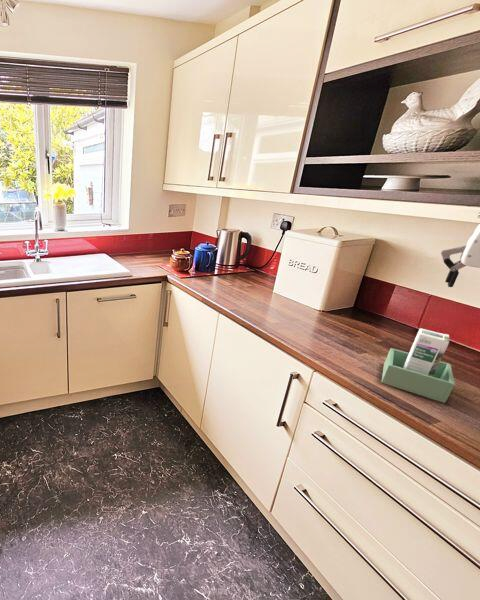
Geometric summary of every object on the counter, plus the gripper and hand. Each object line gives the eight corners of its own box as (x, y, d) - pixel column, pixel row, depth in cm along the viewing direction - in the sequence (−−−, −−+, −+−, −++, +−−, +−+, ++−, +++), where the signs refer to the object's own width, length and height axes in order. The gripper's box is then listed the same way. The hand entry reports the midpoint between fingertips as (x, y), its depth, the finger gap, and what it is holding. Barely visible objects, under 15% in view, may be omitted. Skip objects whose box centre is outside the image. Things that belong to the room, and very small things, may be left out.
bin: (441, 381, 94) (450, 364, 92) (445, 403, 86) (454, 384, 84) (383, 364, 102) (390, 347, 100) (381, 382, 94) (388, 365, 91)
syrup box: (398, 379, 94) (419, 333, 88) (400, 371, 97) (420, 326, 92) (427, 389, 90) (450, 341, 84) (427, 379, 94) (450, 333, 88)
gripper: (457, 217, 78) (429, 286, 85) (582, 225, 67) (538, 303, 74) (454, 213, 83) (428, 279, 90) (569, 221, 73) (530, 294, 79)
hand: (477, 290), depth 82 cm, fingers open, 9 cm apart
